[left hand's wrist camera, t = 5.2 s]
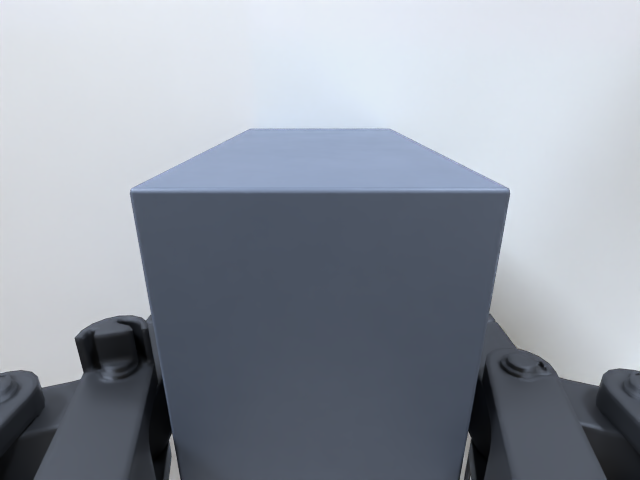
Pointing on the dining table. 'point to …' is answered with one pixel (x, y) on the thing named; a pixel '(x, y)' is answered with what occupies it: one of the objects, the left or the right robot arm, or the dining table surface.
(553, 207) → the dining table surface
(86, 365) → the left robot arm
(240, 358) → the beam
